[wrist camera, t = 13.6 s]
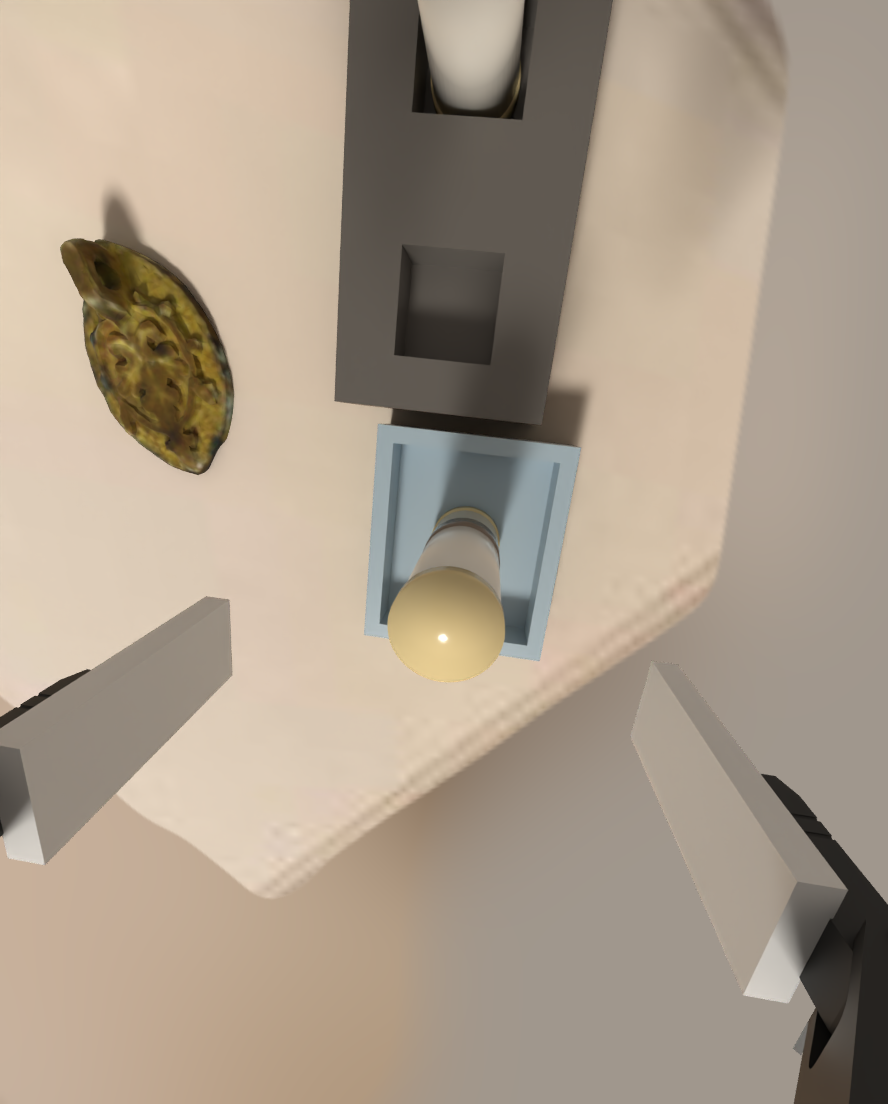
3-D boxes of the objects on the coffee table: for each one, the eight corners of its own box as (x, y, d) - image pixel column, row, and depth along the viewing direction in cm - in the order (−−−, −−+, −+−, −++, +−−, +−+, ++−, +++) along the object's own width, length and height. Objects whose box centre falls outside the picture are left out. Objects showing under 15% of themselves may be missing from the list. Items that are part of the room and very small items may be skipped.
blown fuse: (436, 501, 30) (392, 566, 17) (504, 510, 30) (513, 583, 17) (429, 566, 32) (383, 673, 18) (494, 575, 31) (496, 690, 18)
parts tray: (390, 423, 30) (378, 423, 27) (571, 445, 29) (581, 447, 26) (376, 614, 34) (364, 634, 31) (534, 637, 33) (539, 661, 30)
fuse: (437, 32, 23) (399, -240, 14) (526, 37, 23) (550, -238, 13) (428, 140, 25) (388, -41, 15) (512, 146, 24) (526, -34, 15)
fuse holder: (376, -34, 24) (354, -123, 20) (608, -23, 23) (631, -113, 19) (354, 404, 30) (334, 401, 26) (535, 424, 29) (541, 424, 25)
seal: (273, 448, 33) (176, 226, 29) (247, 451, 28) (127, 186, 25) (159, 491, 33) (50, 278, 30) (115, 500, 29) (-20, 250, 25)
